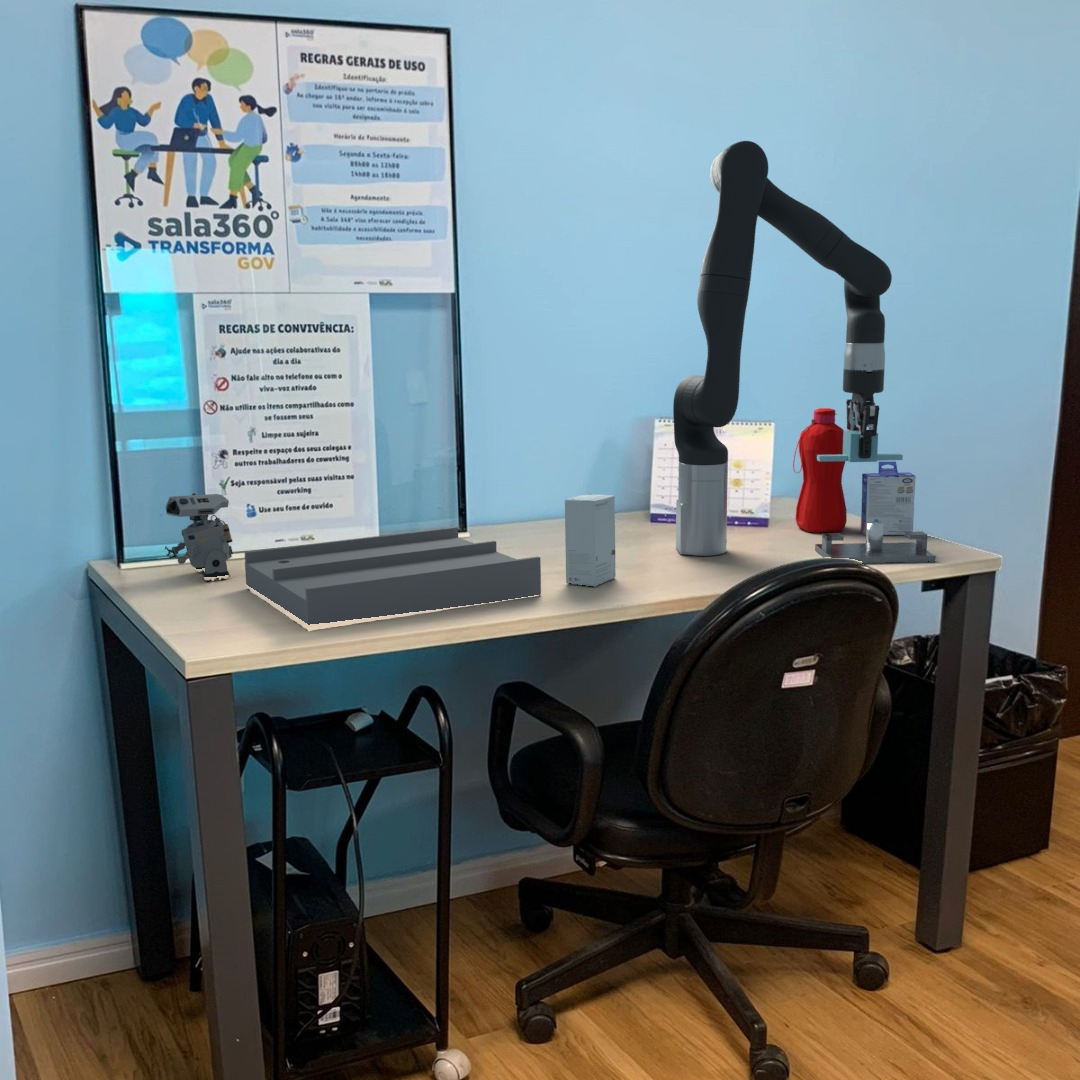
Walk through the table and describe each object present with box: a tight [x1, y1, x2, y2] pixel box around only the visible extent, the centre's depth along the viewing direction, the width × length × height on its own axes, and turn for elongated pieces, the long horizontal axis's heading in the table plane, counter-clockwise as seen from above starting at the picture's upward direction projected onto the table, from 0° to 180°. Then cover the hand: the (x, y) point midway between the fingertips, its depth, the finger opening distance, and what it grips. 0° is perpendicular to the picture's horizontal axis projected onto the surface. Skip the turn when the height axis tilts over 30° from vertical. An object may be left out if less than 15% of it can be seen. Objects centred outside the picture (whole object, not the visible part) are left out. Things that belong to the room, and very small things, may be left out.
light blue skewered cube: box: [817, 430, 904, 463], centre depth 236 cm, size 16×5×5 cm, turn 92°
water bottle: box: [792, 407, 848, 534], centre depth 252 cm, size 9×11×25 cm
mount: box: [814, 522, 937, 564], centre depth 229 cm, size 19×12×6 cm, turn 92°
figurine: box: [164, 492, 234, 577], centre depth 218 cm, size 9×12×15 cm
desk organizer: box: [244, 526, 542, 625], centre depth 206 cm, size 32×40×7 cm
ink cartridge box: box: [860, 461, 917, 536], centre depth 249 cm, size 10×6×14 cm, turn 89°
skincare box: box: [564, 493, 616, 588], centre depth 211 cm, size 8×6×15 cm
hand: (860, 455), depth 236 cm, fingers closed on light blue skewered cube, 5 cm apart
